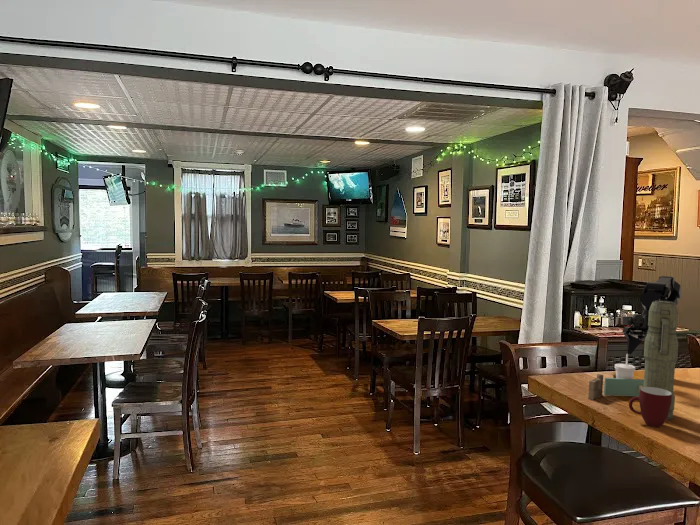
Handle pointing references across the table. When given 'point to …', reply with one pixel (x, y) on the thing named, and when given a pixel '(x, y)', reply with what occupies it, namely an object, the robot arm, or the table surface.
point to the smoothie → (624, 370)
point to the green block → (622, 386)
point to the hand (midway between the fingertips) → (635, 354)
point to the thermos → (661, 348)
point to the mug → (653, 405)
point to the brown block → (596, 387)
